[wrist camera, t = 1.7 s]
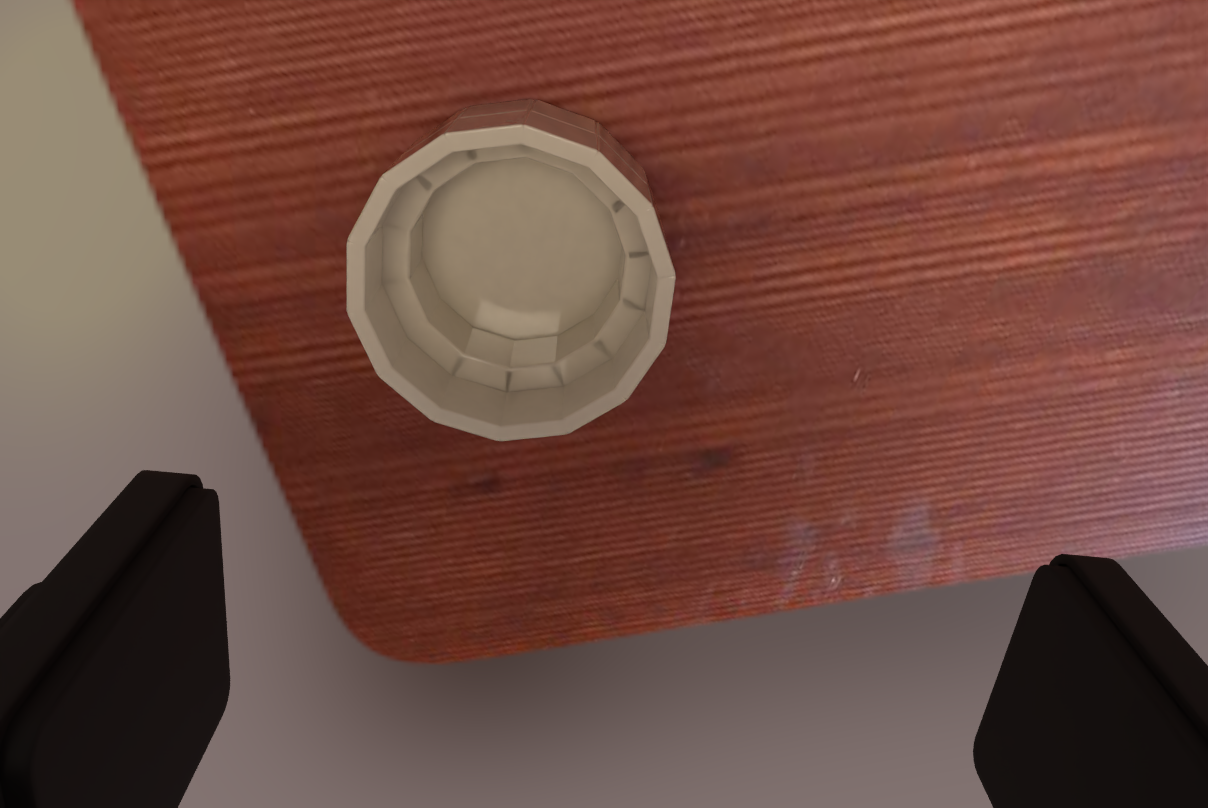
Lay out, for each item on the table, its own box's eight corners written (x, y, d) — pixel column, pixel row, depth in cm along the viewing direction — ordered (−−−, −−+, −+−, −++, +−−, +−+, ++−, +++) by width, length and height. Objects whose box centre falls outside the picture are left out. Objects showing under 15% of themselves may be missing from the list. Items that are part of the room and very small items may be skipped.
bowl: (384, 355, 26) (346, 427, 22) (388, 78, 23) (345, 104, 19) (640, 380, 26) (649, 456, 22) (678, 112, 23) (696, 143, 19)
